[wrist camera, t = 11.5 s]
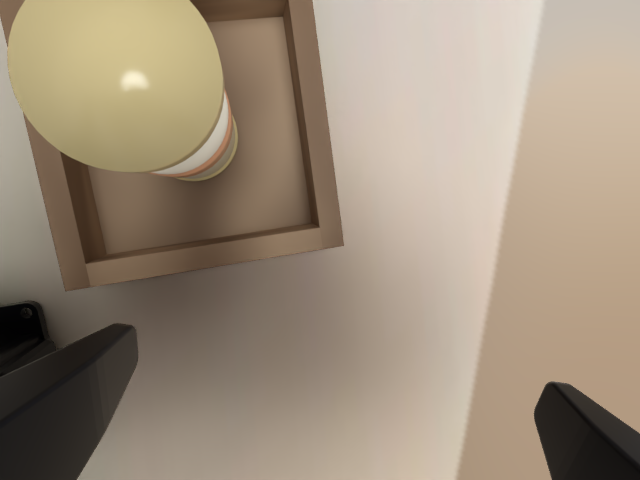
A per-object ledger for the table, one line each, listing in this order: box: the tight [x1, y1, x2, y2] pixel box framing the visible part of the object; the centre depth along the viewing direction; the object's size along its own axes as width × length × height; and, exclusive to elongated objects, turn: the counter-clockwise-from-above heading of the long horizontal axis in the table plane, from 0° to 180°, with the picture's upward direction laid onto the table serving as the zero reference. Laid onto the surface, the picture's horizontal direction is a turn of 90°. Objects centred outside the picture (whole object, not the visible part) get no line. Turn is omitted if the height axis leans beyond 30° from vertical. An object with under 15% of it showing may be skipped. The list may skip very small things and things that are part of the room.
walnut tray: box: [0, 0, 344, 291], centre depth 18 cm, size 12×12×4 cm
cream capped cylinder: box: [7, 0, 238, 181], centre depth 14 cm, size 4×4×11 cm
